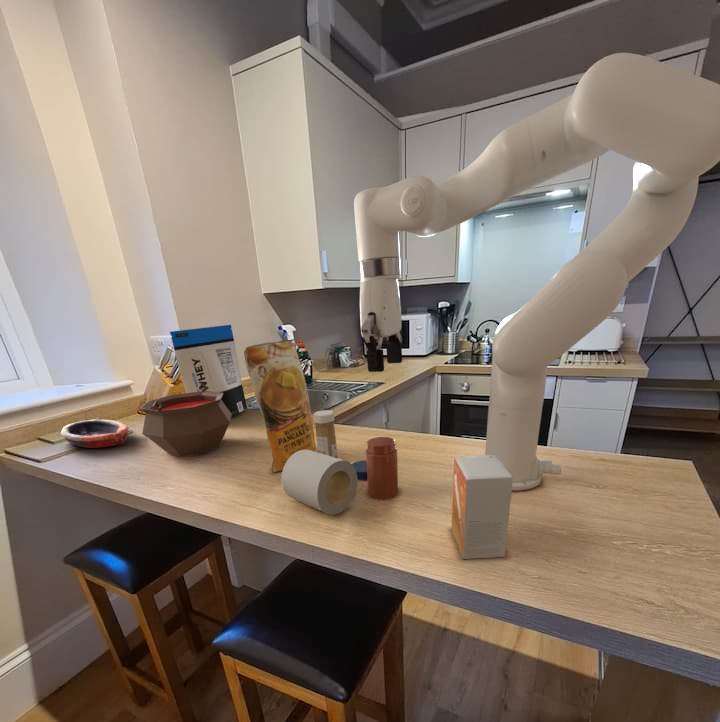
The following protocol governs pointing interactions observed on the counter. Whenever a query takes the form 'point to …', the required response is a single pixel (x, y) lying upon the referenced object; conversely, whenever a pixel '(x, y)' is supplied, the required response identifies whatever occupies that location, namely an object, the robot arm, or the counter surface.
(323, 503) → the toilet paper
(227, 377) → the protein powder
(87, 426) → the dish
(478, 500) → the small box
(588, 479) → the counter surface
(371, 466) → the jar
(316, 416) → the sprinkles bottle
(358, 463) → the lid
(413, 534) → the counter surface
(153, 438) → the brown faceted pot
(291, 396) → the pancake mix bag
